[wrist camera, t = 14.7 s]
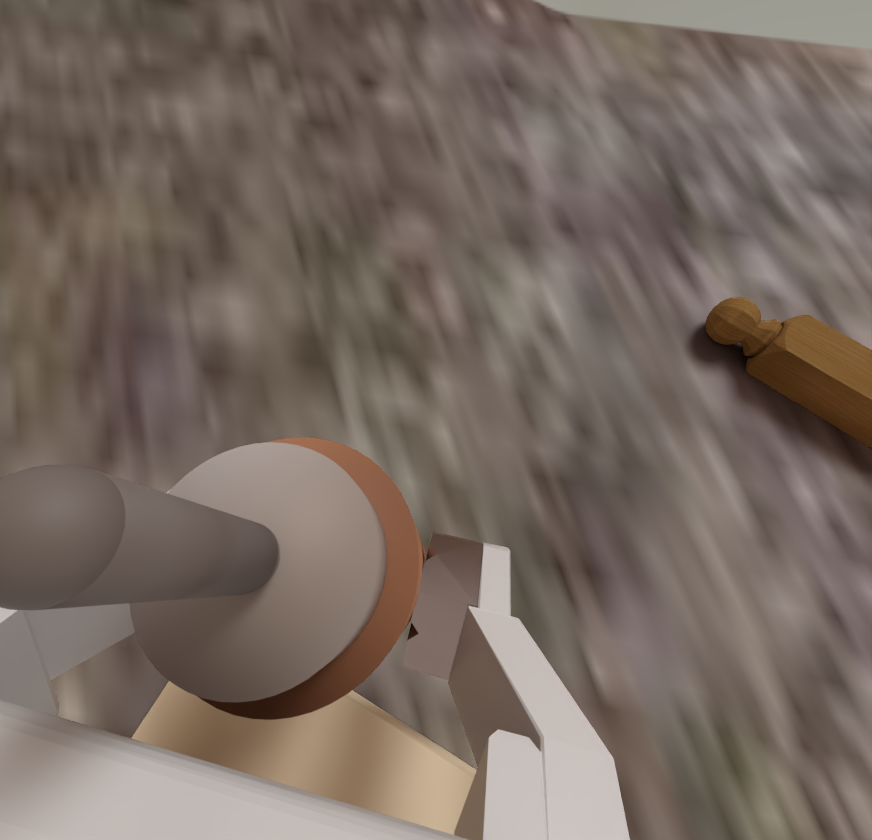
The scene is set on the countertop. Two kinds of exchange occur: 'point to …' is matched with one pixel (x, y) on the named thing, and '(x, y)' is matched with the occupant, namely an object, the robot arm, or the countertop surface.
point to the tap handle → (802, 363)
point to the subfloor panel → (322, 754)
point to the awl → (228, 568)
